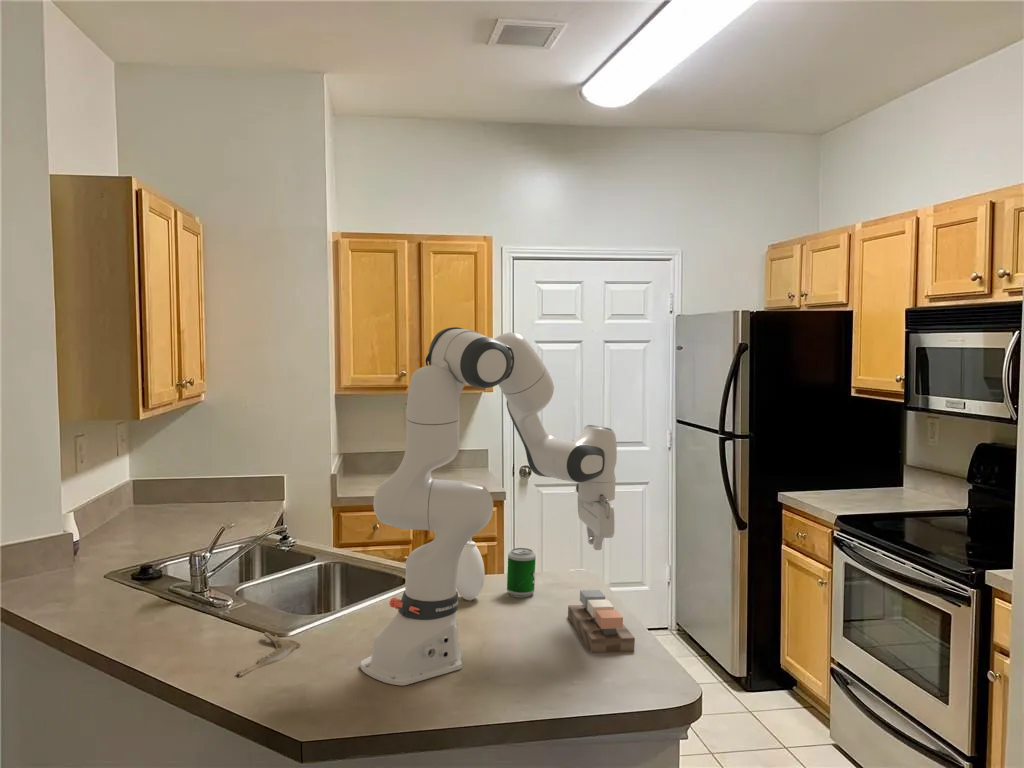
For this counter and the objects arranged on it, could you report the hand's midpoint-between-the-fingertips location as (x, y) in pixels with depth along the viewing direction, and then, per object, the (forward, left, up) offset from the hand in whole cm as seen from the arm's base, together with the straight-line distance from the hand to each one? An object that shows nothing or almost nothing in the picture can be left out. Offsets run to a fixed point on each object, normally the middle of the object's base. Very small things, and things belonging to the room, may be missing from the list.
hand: (594, 546), depth 194 cm
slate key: (0, 0, -17) cm, 17 cm away
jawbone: (-68, +40, -20) cm, 81 cm away
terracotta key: (-9, -11, -18) cm, 22 cm away
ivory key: (-4, -5, -18) cm, 19 cm away
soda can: (+4, +26, -19) cm, 32 cm away
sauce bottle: (-9, +33, -19) cm, 39 cm away
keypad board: (-4, -5, -19) cm, 20 cm away
